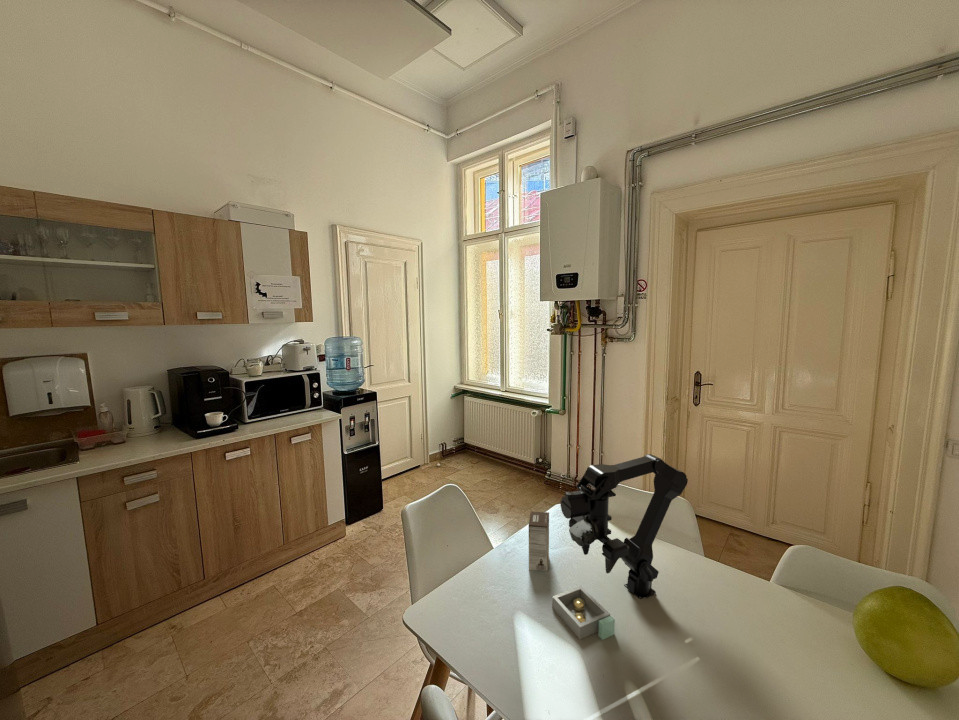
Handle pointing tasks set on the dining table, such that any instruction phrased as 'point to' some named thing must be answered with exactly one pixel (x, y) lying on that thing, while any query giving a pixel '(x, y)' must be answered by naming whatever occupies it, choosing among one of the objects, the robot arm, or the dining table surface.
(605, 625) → the lid
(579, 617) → the ball
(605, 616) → the tub
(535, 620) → the dining table surface
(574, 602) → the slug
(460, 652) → the dining table surface
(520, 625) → the dining table surface
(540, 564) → the coffee box
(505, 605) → the dining table surface
